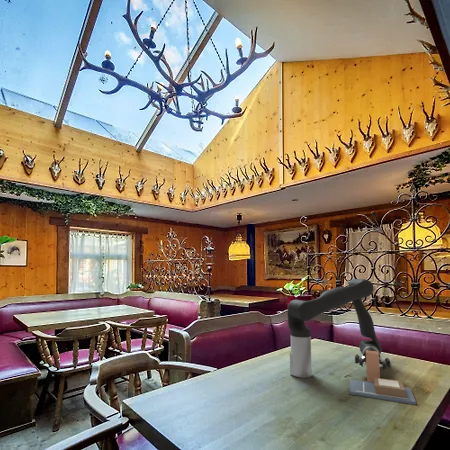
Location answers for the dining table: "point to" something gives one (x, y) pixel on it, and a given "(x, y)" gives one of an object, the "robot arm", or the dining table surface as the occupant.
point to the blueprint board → (371, 390)
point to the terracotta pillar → (372, 365)
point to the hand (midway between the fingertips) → (372, 365)
